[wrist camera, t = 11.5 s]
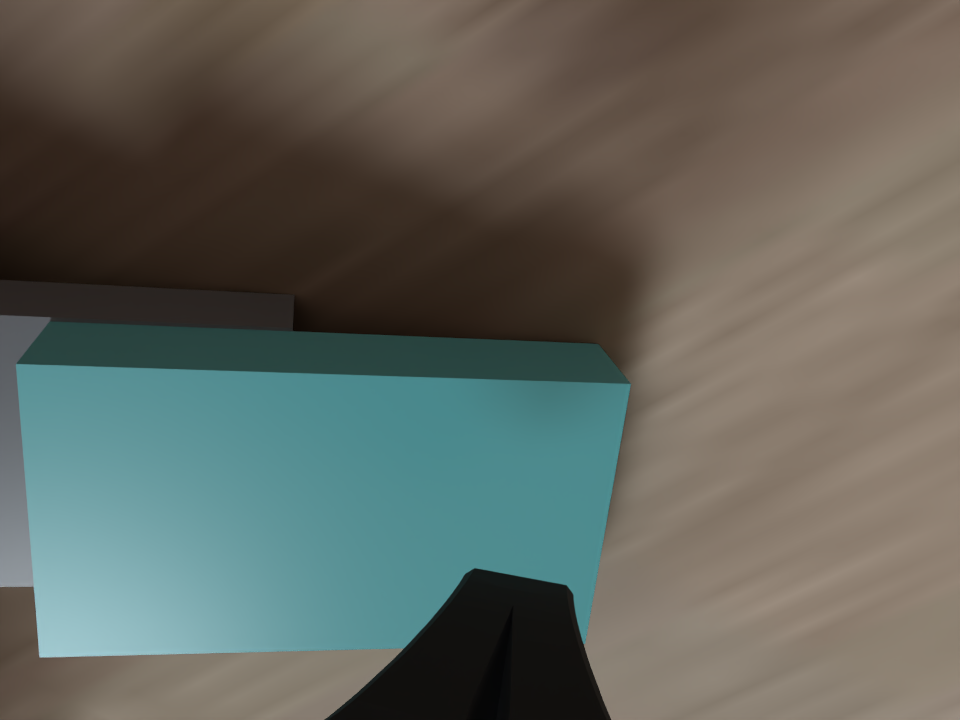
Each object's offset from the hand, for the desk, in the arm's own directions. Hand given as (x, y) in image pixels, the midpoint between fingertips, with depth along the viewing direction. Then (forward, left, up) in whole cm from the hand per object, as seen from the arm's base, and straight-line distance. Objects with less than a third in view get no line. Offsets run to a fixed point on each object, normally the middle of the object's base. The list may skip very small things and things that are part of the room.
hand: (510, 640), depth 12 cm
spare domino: (0, -1, -5) cm, 5 cm away
